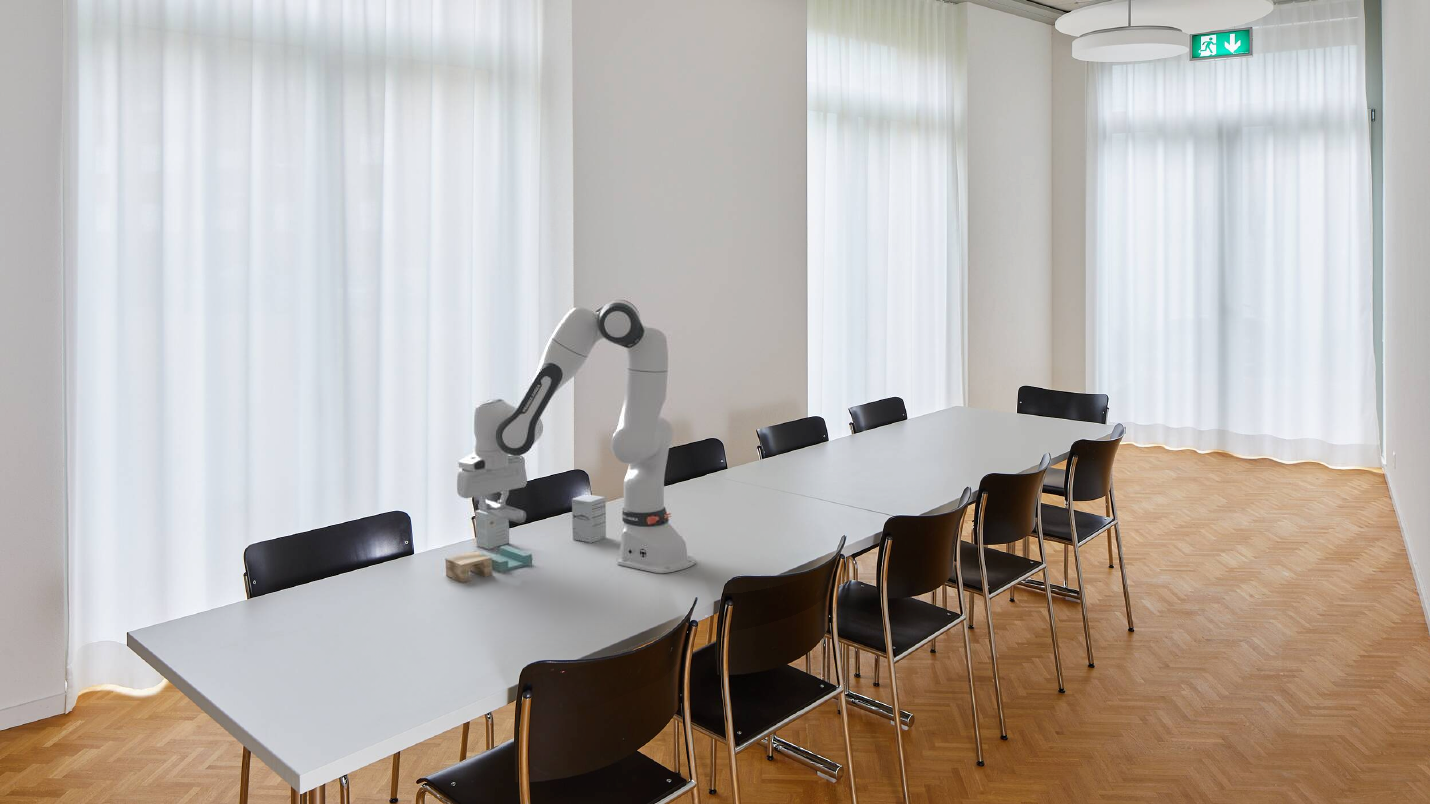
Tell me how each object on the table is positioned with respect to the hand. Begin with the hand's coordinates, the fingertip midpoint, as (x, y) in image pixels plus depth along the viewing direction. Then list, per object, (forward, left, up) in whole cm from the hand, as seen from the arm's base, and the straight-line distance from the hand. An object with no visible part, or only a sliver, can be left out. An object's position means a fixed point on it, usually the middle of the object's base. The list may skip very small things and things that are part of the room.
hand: (493, 508), depth 264 cm
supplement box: (-2, -31, -15) cm, 34 cm away
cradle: (-4, 0, -15) cm, 15 cm away
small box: (+14, -8, -15) cm, 22 cm away
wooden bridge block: (-6, +12, -15) cm, 20 cm away
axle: (-4, 0, -2) cm, 4 cm away
